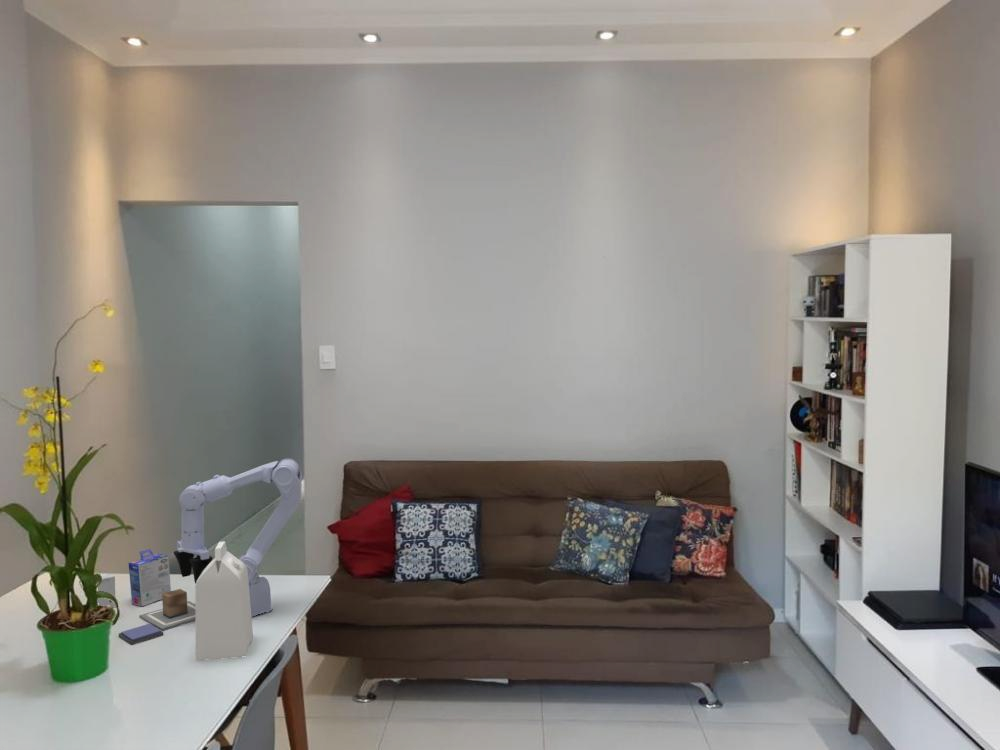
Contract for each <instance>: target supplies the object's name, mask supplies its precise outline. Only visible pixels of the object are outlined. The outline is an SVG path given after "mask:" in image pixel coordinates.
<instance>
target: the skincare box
mask: <svg viewBox="0 0 1000 750" xmlns="http://www.w3.org/2000/svg"><path fill="white" fill-rule="evenodd" d="M99 574H100V573H99ZM100 575H101V576H102V582H101V584H100V585H99V586H98V591H105V592H108V593H110V594H112V595H113V596H114V597H115V598H116V576H115V574H114V573H113V572H107V573H102V574H100ZM98 603H99V605H104V606H107V605H110V606H113V607H114V606H115V604H114V603H113V602H112V601H111V600H108V599H104V598H99V599H98Z"/></svg>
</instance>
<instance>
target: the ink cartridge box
mask: <svg viewBox="0 0 1000 750" xmlns="http://www.w3.org/2000/svg"><path fill="white" fill-rule="evenodd" d="M146 553H149V554H146ZM144 554H145V555H144ZM139 556H140V559H136V560H133V561H131V562H128V573H129V583H130V595H131V604H132V605H135V606H137V607H144V606H148V605H150V604H152V603H153V604H154V603H155V602H158V601H162V594H163V593H166V592H170V591H172V589H171V588H172V587H171V576H170V575H171V573H170V561H169V560H170V559H169V558H170V557H169V555H166V554H162V553H156V554H154V553H153V550H152V549H151V548H149V549H144V550H141V551H139Z"/></svg>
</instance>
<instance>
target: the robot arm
mask: <svg viewBox="0 0 1000 750" xmlns="http://www.w3.org/2000/svg"><path fill="white" fill-rule="evenodd" d="M302 475H303V473H302V471H301V468H300V465H299V464H298V462H297V461H296V460H294V459H292V458H284V459H281V460H280V461H278V460H276V461H272V462H268V463H265V464H262V465H260V466H257V467H255V468H252V469H249V470H247V471H245V472H242V473H239V474H237V475H233V476H231V477H229V476H226V475H219V474H215V475H214V476H212V478H211V479H208V480H205V481H202V482H201V481H197V482H196V483H195V484H192V485H189V486H187V487H186V488H185V489H184V490H183V491H182V492H181V493H180V495H179V499H178V501H179V505H180V506H181V521H180V522H181V524H180V525H181V531H180V533H181V534H180V535H181V539H180V540H177V541H176V550H175V551H173V555H174V556H175V559H176V560H177V563H178V565H179V566H178V567H179V570H180V574H181V577H182V578H185V577H189V576H191V575H192V574H191V573H192V571H193V580H194V583H195V585H196V581H197V579H198V578H199V576H200V575H201V573H202V572H203V570H204V569H205V568H206V567H207V566H208V564H209V563H210V562H211V561H212V560H213V557H212V556H211V555H210V551H209V550H208V549H207V547H206V545H205V512H204V511H205V510H204V509H205V508H204V504H209V503H211V502H214V501H218V500H220V499H222V498H223V499H224V498H225V497H228V496H230V495H232V492H233V490H236V489H238V488H241V487H244V486H249V485H250V484H254V483H257V482H260V481H261V482H265V483H267V484H272V482H273V483H274V485H275V486H276V488H277V489H278V491H279V493H280V497H281V500H280V502H279V503H278V505H277V506H276V507H275V508H274V510H273V512H272V514H271V515H270V517H269V518H268V520H266V523H265V524H264V525H263V527H262V529H261V530H260V532H259V533H258V534H257V536H256V538H255V539H254V541H253V542H252V543H251V545H250V547H249V548H248V549H247V550H246V552H244V553H242V554H241V555H239V556H238V557H237V559H239V560H240V561H241V562H243V563H244V564H245V565H246V567H247V570H248V582H249V594H250V606H251V618H252V617H253V616H254V617H257V616H259V615H258V614H260V615H262V614H261V613H263V614H265V613H264V612H266V613H268V612H267V611H269V612H271V611H270V610H272V609H273V608H272V601H271V600H272V599H271V595H272V594H271V585H270V582H269V580H268V578H266V577H265V576H259V574H258V570H259V568H260V566H261V562H262V561H263V558H264V557H265V555H266V554H267V552H268V551H269V549H270V548H271V546H272V545H273V543H275V540H276V539H277V537H278V536H279V534H280V533H281V531H282V530H283V528H284V526H285V525H286V524H287V522H288V521H289V519H290V518H291V516H292V515H293V513H294V511H296V509H297V508H298V506H299V505H300V503H301V500H302V479H303V477H302ZM195 556H196V557H195ZM272 611H273V610H272ZM256 615H257V616H256Z"/></svg>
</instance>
